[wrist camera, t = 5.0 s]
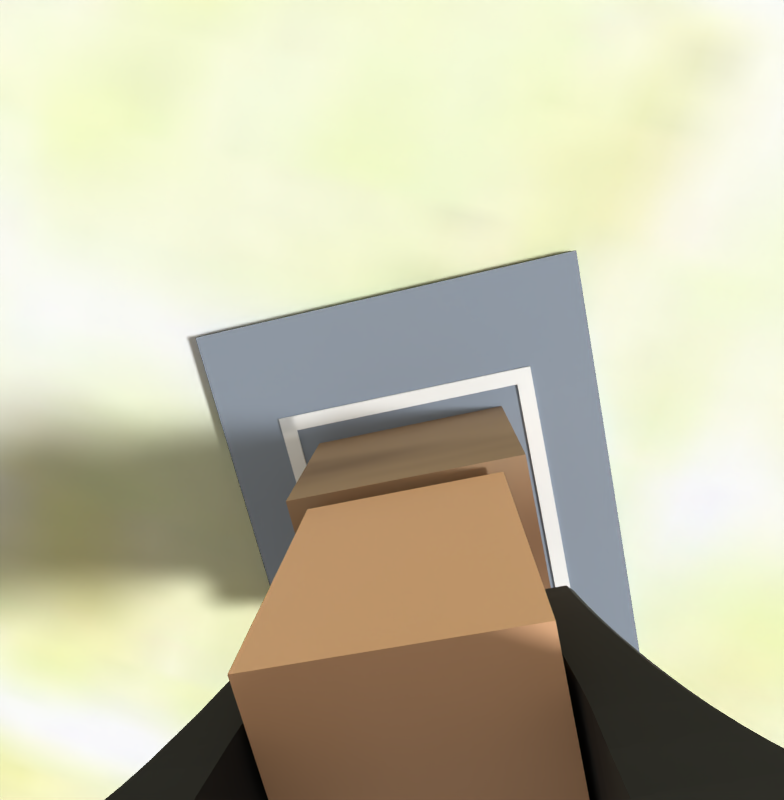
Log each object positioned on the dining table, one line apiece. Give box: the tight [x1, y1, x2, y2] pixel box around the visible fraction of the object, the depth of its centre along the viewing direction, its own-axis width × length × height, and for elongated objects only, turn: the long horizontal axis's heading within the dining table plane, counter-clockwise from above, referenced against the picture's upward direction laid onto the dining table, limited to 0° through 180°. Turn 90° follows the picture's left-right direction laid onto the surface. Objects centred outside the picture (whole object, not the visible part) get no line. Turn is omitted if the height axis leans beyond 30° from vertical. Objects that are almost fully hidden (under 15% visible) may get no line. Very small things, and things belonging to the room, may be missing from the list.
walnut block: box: [286, 406, 551, 589], centre depth 15 cm, size 5×5×4 cm
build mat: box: [196, 251, 639, 651], centre depth 17 cm, size 12×10×1 cm
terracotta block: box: [228, 472, 589, 800], centre depth 10 cm, size 4×4×5 cm
